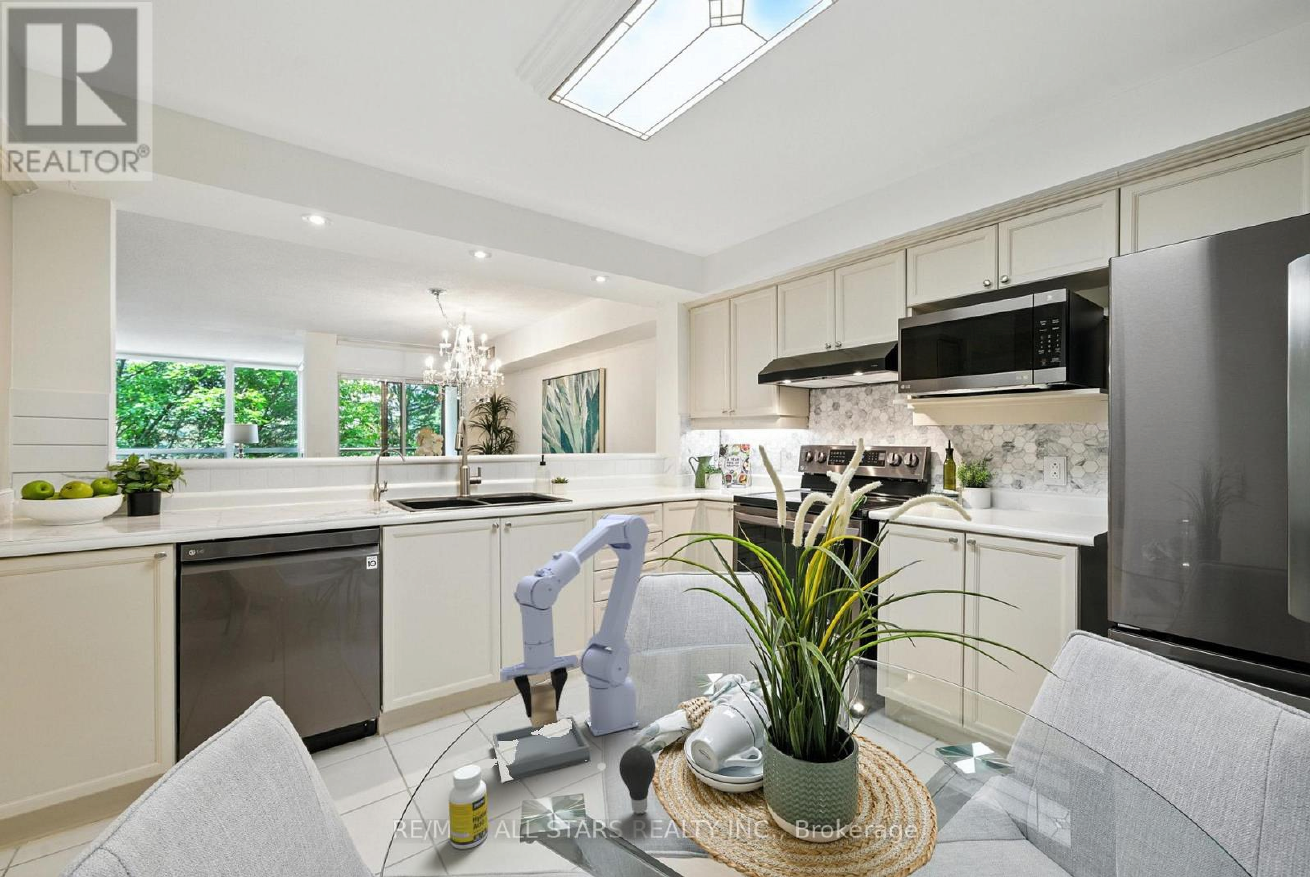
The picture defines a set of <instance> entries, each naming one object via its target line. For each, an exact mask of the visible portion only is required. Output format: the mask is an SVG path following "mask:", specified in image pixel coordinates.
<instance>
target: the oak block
mask: <svg viewBox="0 0 1310 877" xmlns="http://www.w3.org/2000/svg"><path fill="white" fill-rule="evenodd" d="M530 703H531V710H532V717H530V718H529V720H530V721H529V722H530V724H531V725H532V726H533V728H535V727H540V726H544V725H548V724H552V723H557V720H558V718H557V711H556V696H555V689H554V687H553V685H552V683H551V681H547V682H544V683H543V682H542V683H539V684H533V685H530Z"/></svg>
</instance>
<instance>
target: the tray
mask: <svg viewBox="0 0 1310 877" xmlns="http://www.w3.org/2000/svg"><path fill="white" fill-rule="evenodd" d="M565 718H566V719H571V721H572V729H570V730H569V733H567V734H566V735H563V736H561V737H551V738H547V737H545V736H543V735H540V734H538V735H532V734H531V732H534V731H536V730H538V731H539V730H540V729H541V728H543V727H544V726H540V727H535V728H533V726H532V724H531V725H527V726H523V727H519V728H515V729H510V730H505V731H502V732H497V733H493V734H492V741H494V744H495V747H496V748H497V747H499V744H498V741H513V740H516V739H517V740H518V741H519V742H518V744H517V746H516V750H517V751H516V753H515V760H514V762H513V763H512V764H510V765H506V767H507V768H508V770H509V775H510V776H511V777H512V778H513V779H514V780H515V781H516V780H520V779H522V778H527V777H531V776H534V775H539V774H542V773H547V772H550V771H553V770H554V771H555V770H559V769H561V768H566V767H570V766H573V765H578V764H581V762H582V763H584V762H583V761H585V760H588V761H591V753H590V752H591V750H590V749H591V748H590V745H589V743H588V741H587V739H586V738H585V736H584V734H583V732H582V730H581V729H580V727H579V726H578V724H577V722H576V721H575V718H574V717H573V716H572V715H571V716H567V717H565ZM561 719H562V718H559V719H558V718H557V722H558V721H560V720H561ZM588 761H587V762H588ZM514 780H513V781H514Z"/></svg>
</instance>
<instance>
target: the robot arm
mask: <svg viewBox="0 0 1310 877" xmlns="http://www.w3.org/2000/svg"><path fill="white" fill-rule="evenodd" d="M649 533H650V529H649V526H648V524H647V522H646V519H645V518H644V517H643V516H642V515H640V514H614V513H607V514H605V515H603V517H602V518H600V519H598V520H597V521H596V524H595V526H594V527H593V529H592V530H590V531H589V532H588V533H587V534H586V535H585V536H584V537H583V538H582V539H581V540H580V541H578V543H577V544H576V545H575V546H574V547H573V548H572V549H570V551H566V550H561V551H556V552H555V553H553V554H552V558H551V559H550V560H549V561H548V562H547V563H545V564H544V565H543V566H542V567H537V568H536V569H535V572H534V574H533V575H531V574H530V575H526V576H524V577H523V578H521V579H520V580H519V582H518V583H517V585H516V590H515V591H514V592H513V596H514V600H515V602H516V603H517V604H518V605H519V608H520V611H519V612H520V614H521V627H522V644H523V662H521V663H517V664H514V665H512V666H508V667H504V668H500V669H499V674H500V675H499V677H500V678H499V679H500V682H501V684H503V683H507V682H508V681H512V680H513V681H514V683H515V686H516V687H517V688H516V689H518V692H519V693H520V696H521V698H522V701H523V703H524V704H523V705H524V709H525V714H526V717H527V718H530V717H532V710H531V703H530V686H531V683H530V680H529V677H531V676H536V675H537V676H538V675H543V674H544V675H545V674H549V673H550V682H551V684H552V685H553V687H554V689H555V696H556V712H558V711H559V707H560V702H561V696H562V694H563V690H564V687H565V684H566V682H567V680H568V676H569V674H568V671H567V669H568V670H569V669H578V668H580V671H581V672H582V674H583V675H585V677H586V678H585V679H586V680H585V681H586V682H587V683H588V698H589V702H588V703H589V717H586V718H585V719H584V722H585V721H586V722H591V726H589V727H588V728H589V729H590V732H591V733H592V732H593V733H592V735H593V737H599V736H602V735H607V734H611V733H614V732H618V731H623V730H628V729H631V728H635V727H638V726H639V722H638V714H637V713H638V712H637V697H636V688H635V684H634V680H633V679H632V678H631V677H630V676H629V674H630V669H631V668H630V667H631V666H630V665H631V664H630V658H631V652H632V649H631V647H630V645H629V643H628V642H627V641H626V639H625V635H626V632H627V627H628V623H629V621H630V616H631V612H632V608H633V606H634V605H633V604H634V602H635V601H634V600H635V598H636V594H637V589H638V584H639V581H640V577H641V572H642V570H643V566H644V563H645V557H646V546H647V542H648V541H647V540H648V537H649ZM606 545H607V546H608V547H609V548H610V549H611V550H612V551H613V552H614V553H615V555H616V557H617V559H618V562H617V566H616V569H615V573H614V577H613V580H612V584H611V588H610V591H609V595H608V599H607V603H606V606H605V608H604V609H605V610H604V613H603V617H602V620H601V623H600V627H599V630H598V631H597V632H596V633H595V634H593V635H592V636H591V637H590V638H589V639H588V643H587V645H586V647H585V649H584V650H583V652H582V653H581V655H580V660H579V657H578V655H576V654H572V655H571V654H570V655H564V656H562V655H561V656H560V655H559V656H556V655H555V639H554V622H553V619H554V618H553V605H555V603H556V601H557V599H558V596H559V593H560V592H561V591H562V589H563V588H564V587H565V586H567V585H568V584H569V583H570V582H571V581H572V580H573V579H574V578H576V577H577V576H578V575H579V574H580V572H581V565H582V564H583V563H584V562H585V561H587V560H588V559H590V558H591V557H592V556H593V555H595V554H596V553H597V552H599V551H600V550H601V549H603V548H604V547H605V546H606ZM607 648H610V649H607ZM586 722H585V723H586Z"/></svg>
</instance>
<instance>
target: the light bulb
mask: <svg viewBox="0 0 1310 877" xmlns="http://www.w3.org/2000/svg"><path fill="white" fill-rule="evenodd" d="M618 766H619V774H620V777H621V779H622V782H623V783H624V785H625V787H626V788H627V790H628V793H629V796H630V800H631V809H632V811H633V813H636V814H637V813H638V814H641V813H643V814H644V813H645V812H646V811H647V810H648V795H649V789H650V785H651V784H652V780H653V779H654V777H655V772H656V763H655V759H654V756H653V754H652V752H650V750H648V749H647V748H645V747H643V746H641V745H640V746H639V745H637V746H631V747H630V748H628V749H627V750H625V752H624V753H623V754H622V756H621V758H620V761H619V765H618ZM638 814H637V815H638Z"/></svg>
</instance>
